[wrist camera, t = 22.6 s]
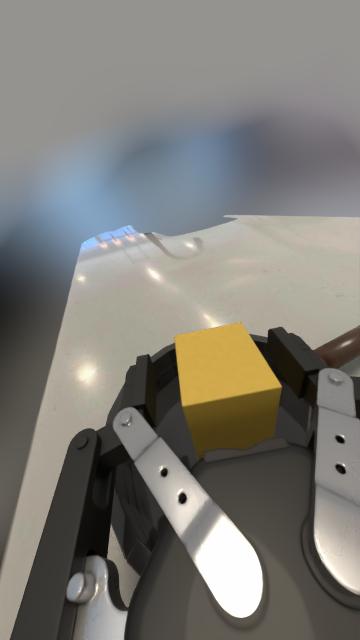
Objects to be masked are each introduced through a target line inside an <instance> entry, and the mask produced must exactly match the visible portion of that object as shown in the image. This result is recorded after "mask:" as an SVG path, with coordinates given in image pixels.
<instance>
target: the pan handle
mask: <svg viewBox="0 0 360 640" xmlns="http://www.w3.org/2000/svg"><path fill="white" fill-rule="evenodd" d="M313 351H314V352H315V353H316V354H317V355H318V356H319V357H320V358H321V360H322V361H323V362H324V363H325V364H326V365H327V366H328V367H329V368H333V369H337V368H339V367H341V366H342V365H344V364H346V363H347V362H349V361H351V360H353V359H354V358H356V357H358V356H359V355H360V326H358V327H356V328H354V329H352V330H350V331H348V332H347V333H345V334H343V335H341V336H339V337H337V338H335V339H334V340H332V341H330V342H328V343H326V344H324V345H322V346H321V347H319V348H317V349H315V350H313Z"/></svg>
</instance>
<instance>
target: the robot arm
mask: <svg viewBox="0 0 360 640" xmlns="http://www.w3.org/2000/svg"><path fill="white" fill-rule="evenodd" d="M267 351H268V354H269V356H270V357H271V359H272V360H273V362H274V363H275V365H276V366H277V368H278V369H279V371H280V372H281V374H282V375H283V377H284V378H285V380H286V381H287V383H288V384H289V386H290V387H291V389H292V390H293V391H294V393H295V394H296V396H297V397H298V399H299V398H304V397H306V398H307V400H308V401H309V410H308V420H307V430H306V438H305V442H304V446H302V445H299V444H296V443H291V442H288V441H287V439H286V437H285V436H281V437H276V438H271V439H265V440H263V441H261V442H259V443H257V444H256V445H254V446H252V447H250V448H248V449H245V450H242V449H232V448H218V449H213V450H208V451H203V455H204V458H202V459H200V460H199V461H197V462H196V463H195V464H194V465H193V466H192V467H191V468H190V470H189V471H188V469H187V468H186V467H185V466H184V465H183V463H182V462H181V461H180V460H179V458H178V457H177V456H176V455H175V454H174V452H173V451H172V450H171V449H170V448H169V446H168V445H167V444H166V443H165V441H164V440H163V439H162V438H161V437H160V436H158V435H157V434H156V433H155V432H154V430H153V429H152V428H153V427H156V372H155V368H154V366H153V363H152V361H151V358H150V355H149V354H147V355H142V356H138V357H137V361H136V365H133V366H130V368H129V370H128V371H127V373H126V379H125V380H126V381H125V385H124V386H125V387H124V391H123V397H122V402H121V408H120V412H119V413H118V414H117V415H116V417H115V418H114V421H113V422H111V423H110V424H108V425H107V426H105V427H103V428H101V429H99V430H97V431H95V430H93V429H91V428H88V429H84V430H82V431H80V432H79V433H78V434H76V435H75V437H74V438H73V439H72V441H71V442H70V444H69V447H68V450H67V454H66V457H65V460H64V464H63V467H62V470H61V473H60V477H59V480H58V483H57V487H56V490H55V493H54V496H53V500H52V503H51V506H50V510H49V513H48V516H47V519H46V523H45V526H44V529H43V533H42V536H41V539H40V542H39V546H38V549H37V552H36V556H35V559H34V562H33V565H32V569H31V572H30V575H29V579H28V582H27V585H26V588H25V592H24V595H23V598H22V602H21V605H20V608H19V611H18V615H17V618H16V621H15V624H14V628H13V631H12V634H11V638H10V640H360V377H350V376H349V375H347V374H346V373H344V372H342V371H340V370H338V369H333V368H329V367H328V366H327V365H326V364H325V363H324V362H323V361H322V360H321V358H320V357H319V356H318V355H317V354H316V353H315V352H314V351H313V350H312V349H310V347H309V346H308V345H307V344H306V343H305V342H304V341H303V340H302V339H301V338H300V337H299V336H297V335H295V334H293V333H289V334H288V333H287V332H286V330H285V329H284V328H283V327H278V328H273V329H269V330H268V339H267ZM130 458H132V460H133V462H134V464H135V466H136V468H137V469H138V471H139V473H140V474H141V476H142V477H143V479H144V481H145V482H146V484H147V486H148V487H149V489H150V490H151V492H152V494H153V495H154V497H155V499H156V500H157V502H158V504H159V505H160V507H161V508H162V510H163V512H164V513H165V515H166V517H167V518H166V521H165V523H164V525H163V527H162V530H161V532H160V534H159V536H158V539H157V541H156V543H155V545H154V548H153V550H152V552H151V555H150V557H149V559H148V561H147V564H146V566H145V568H144V570H143V573H142V575H141V577H140V579H139V582H138V584H137V586H136V588H135V591H134V593H133V596H132V599H131V602H130V605H129V609H128V608H127V607H126V606H125V604H124V603H123V601H122V599H121V595H120V590H119V574H118V570H117V567H116V565H115V564H114V562H113V561H111V560H109V559H107V553H108V544H109V534H110V525H111V516H112V506H113V497H114V488H115V478H116V469H117V466H118V465H120V464H122V463H124V462H125V461H127V460H129V459H130Z"/></svg>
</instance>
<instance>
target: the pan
mask: <svg viewBox="0 0 360 640" xmlns="http://www.w3.org/2000/svg"><path fill="white" fill-rule="evenodd" d="M249 335H250V337H251V338H252V340H253V341H254V343H255V345H256V346H257V348H258V349H259V351H260V353H261V354H262V356H263V357H264V359H265V360H266V362H267V364H268V365H269V367H270V368H271V370H272V372H273V373H274V375H275V376H276V378H277V379H278V381H279V383H280V384H281V386H282V389H281V395H280V401H279V407H278V413H277V419H276V425H275V431H274V437H273V438H276V437H281V436H285V437H286V439H287V441H288V442H291V443H296V444H299V445H302V446H304V442H305V438H306V430H307V420H308V410H309V401H308V400H307V398H306V397H304V398H299V399H298V397H297V396H296V394H295V393H294V391H293V390H292V389H291V387H290V386H289V384H288V383H287V381H286V380H285V378H284V377H283V375H282V374H281V372H280V371H279V369H278V368H277V366H276V365H275V363H274V362H273V360H272V359H271V357H270V356H269V354H268V351H267V339H268V338H267V337H263V336H258V335H253V334H249ZM150 358H151V361H152V363H153V366H154V368H155V372H156V427H153V428H152V429H153V430H154V432H155V433H156V434H157V435H158V436H160V437H161V438H162V439H163V440H164V441H165V443H166V444H167V445H168V446H169V448H170V449H171V450H172V451H173V452H174V454H175V455H176V456H177V457H178V458H179V460H180V461H181V462H182V463H183V465H184V466H185V467H186V468H187V469H188V471H189V470H190V468H191V467H192V466H193V465H194V464H195V463H196V462H197V461H199V459H198V456H197V452H196V449H195V446H194V443H193V440H192V437H191V433H190V430H189V427H188V424H187V421H186V417H185V414H184V411H183V408H182V403H181V393H180V384H179V375H178V366H177V357H176V348H175V343H173V344H171V345H169V346H166V347H165V348H163V349H161V350H160V351H159V352H157V353H156V354H154V355H153V356H152V357H150ZM124 385H125V384H124ZM124 385H123V387H122V389H121V391H120V393H119V394H118V396H117V398H116V400H115V402H114V404H113V406H112V408H111V410H110V412H109V414H108V417H107V422H106V426H107V425H108V424H110V423H111V422H113V421H114V418H115V417H116V415H117V414H118V413H119V412H120V408H121V402H122V397H123V391H124V387H125V386H124ZM166 518H167V517H166V515H165V513H164V512H163V510H162V508H161V507H160V505H159V504H158V502H157V500H156V499H155V497H154V495H153V494H152V492H151V490H150V489H149V487H148V486H147V484H146V482H145V481H144V479H143V477H142V476H141V474H140V473H139V471H138V469H137V468H136V466H135V464H134V462H133V460H132V458H130V459H129V460H127V461H125V462H124V463H122V464H120V465H118V466H117V469H116V478H115V488H114V497H113V506H112V516H111V525H112V527H113V530H114V533H115V535H116V538H117V540H118V543H119V545H120V548H121V550H122V553H123V555H124V558H125V559H126V560H127V563H128V564H129V565H130V566H131V568H132V569H133V570H134V571H135V572H136V573H137V574H138V575H139V576H140V577H141V575H142V573H143V570H144V568H145V566H146V564H147V561H148V559H149V557H150V555H151V552H152V550H153V548H154V545H155V543H156V541H157V539H158V536H159V534H160V532H161V530H162V527H163V525H164V523H165V521H166Z"/></svg>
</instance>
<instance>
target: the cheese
mask: <svg viewBox="0 0 360 640" xmlns="http://www.w3.org/2000/svg"><path fill="white" fill-rule="evenodd" d="M174 339H175V348H176V357H177V366H178V375H179V384H180V393H181V403H182V408H183V411H184V414H185V417H186V421H187V424H188V427H189V430H190V433H191V437H192V440H193V443H194V446H195V449H196V452H197V456H198V459H199V460H200V459H202V458H204V455H203V451H208V450H213V449H218V448H232V449H242V450H245V449H248V448H250V447H252V446H254V445H256V444H257V443H259V442H261V441H263V440H265V439H271V438H273V437H274V431H275V425H276V419H277V413H278V407H279V401H280V395H281V389H282V386H281V384H280V383H279V381H278V379H277V378H276V376H275V375H274V373H273V372H272V370H271V368H270V367H269V365H268V364H267V362H266V360H265V359H264V357H263V356H262V354H261V353H260V351H259V349H258V348H257V346H256V345H255V343H254V341H253V340H252V338H251V337H250V335H249V334H248V332H247V330H246V329H245V327H244V326H243V324H242V323H241V322H239V323H234V324H230V325H225V326H220V327H215V328H210V329H205V330H200V331H196V332H191V333H186V334H181V335H176V336H175V337H174Z"/></svg>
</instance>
